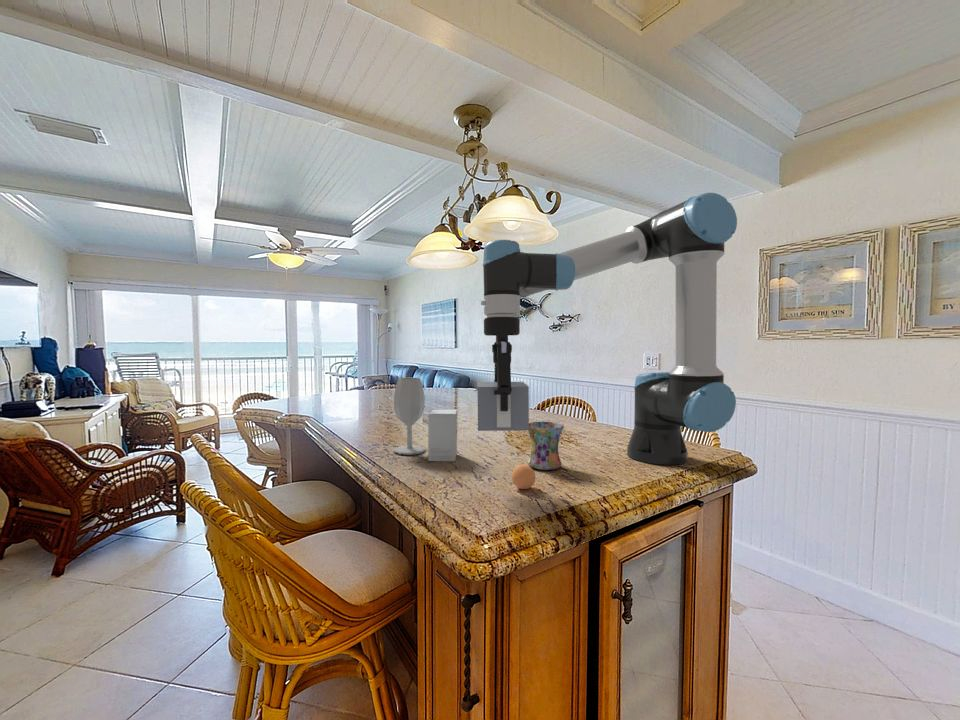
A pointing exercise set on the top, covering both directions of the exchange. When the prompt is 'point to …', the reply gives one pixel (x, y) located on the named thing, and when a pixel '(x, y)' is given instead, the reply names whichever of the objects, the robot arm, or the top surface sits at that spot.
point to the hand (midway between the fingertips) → (502, 421)
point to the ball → (523, 477)
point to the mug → (544, 445)
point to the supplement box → (442, 435)
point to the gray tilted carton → (489, 407)
